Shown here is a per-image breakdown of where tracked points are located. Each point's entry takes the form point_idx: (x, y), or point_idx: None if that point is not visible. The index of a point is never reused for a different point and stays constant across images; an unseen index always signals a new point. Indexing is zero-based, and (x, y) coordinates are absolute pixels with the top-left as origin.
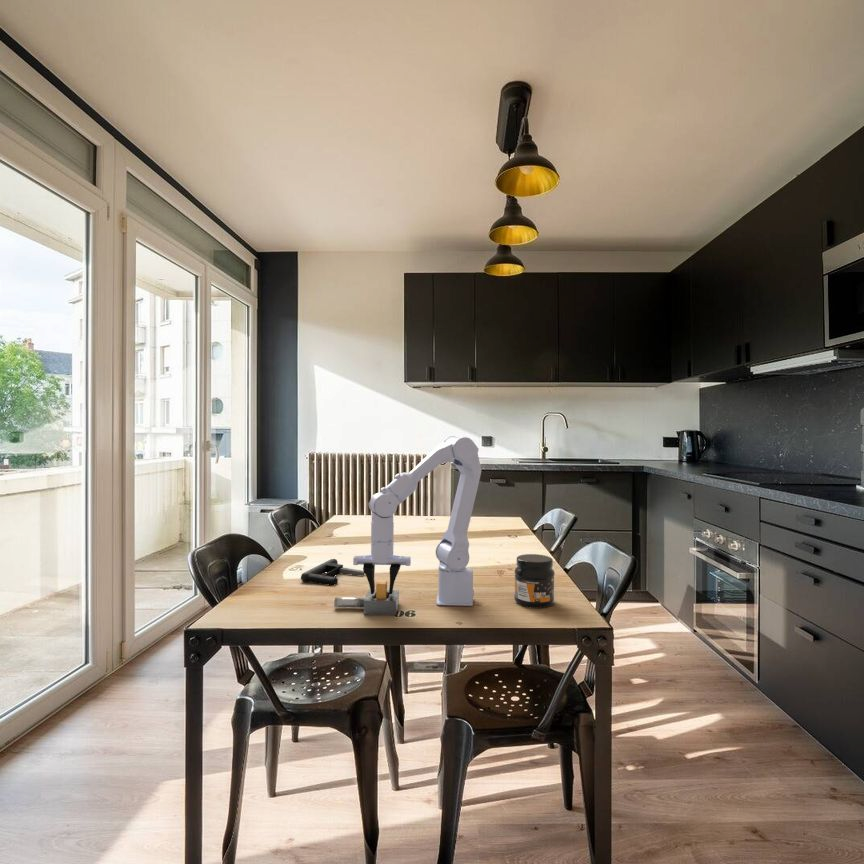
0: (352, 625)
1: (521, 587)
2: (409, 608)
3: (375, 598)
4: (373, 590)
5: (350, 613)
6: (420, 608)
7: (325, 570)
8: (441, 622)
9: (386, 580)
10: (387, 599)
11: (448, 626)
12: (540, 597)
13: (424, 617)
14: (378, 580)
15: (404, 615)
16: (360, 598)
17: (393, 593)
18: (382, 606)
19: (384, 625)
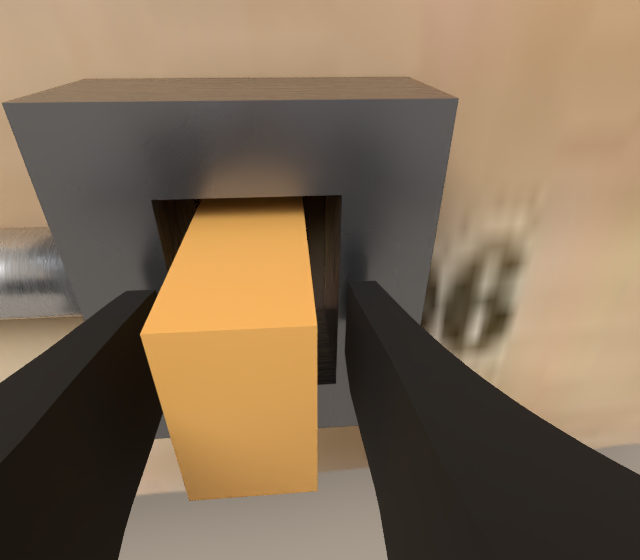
0: (158, 477)
1: None
2: (491, 208)
3: (173, 199)
4: None
5: (53, 342)
6: (579, 201)
7: None
8: (621, 404)
9: (309, 369)
10: (331, 398)
11: (633, 438)
12: None
13: (554, 355)
14: (169, 379)
15: (436, 339)
16: (37, 304)
17: (382, 239)
18: None
19: (323, 461)
